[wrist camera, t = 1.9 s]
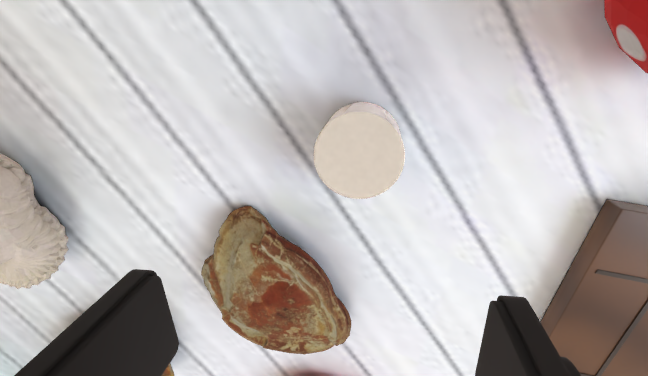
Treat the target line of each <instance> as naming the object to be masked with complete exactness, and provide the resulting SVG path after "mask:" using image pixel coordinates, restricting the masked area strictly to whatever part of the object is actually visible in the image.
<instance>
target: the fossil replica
mask: <svg viewBox="0 0 648 376" xmlns="http://www.w3.org/2000/svg"><path fill="white" fill-rule="evenodd" d="M33 190H34V186H33V183H32V179H31V176H30V175H28V174H25V171H24V169H23V168H22V167H21V166H20V165H19V164H18V163H17V162H15V161H14V160H12V159H10V158H8V157H6V156H5V155H3V154H0V283H2V284H8V285H9V286H10V287H12V286H15V287H16V288H17V289H19V288H21V287H24V288H31V286H32V285H38V284H39V283H41V282H42V281H43V280H46V279H50V278H51V274H53V273H55V272H56V271H58V266H59V265H60V264H61V263H62V262H63V261H64V260H65V259H64V255H65V254H66V252H67V251H68V248H67V246H66V244H67V242H68V237H67V236H66V235H65V227H64V226H63V225H61V224H60V223H59V220H58V219H57V218H56V217H55V216H54V215H53V214H51V213H50V212H49V210H48V209H47V208H46V207H42V206H40V205H39V204H38V202H37V200H36V198H35V197H34V191H33Z"/></svg>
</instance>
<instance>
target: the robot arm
mask: <svg viewBox="0 0 648 376" xmlns="http://www.w3.org/2000/svg"><path fill="white" fill-rule="evenodd" d="M178 345H179V342H178V337H177V334H176V330H175V327H174V323H173V320H172V316H171V313H170V309H169V306H168V302H167V299H166V295H165V292H164V288H163V285H162V281H161V278H160V277H159V276H157V274H156V273H155V272H154V271H151V270H137V269H135V270H132V271H130V272H129V273H128V274H127V275H125V276H124V277H123V278H122V279H121V280H120V281H119V282H118V283H117V284H115V285H114V286H113V287H112V288H111V289H110V290H109V291H108V292H107V293H105V294H104V295H103V296H102V297H101V298H100V299H99V300H98V301H97V302H95V303H94V304H93V305H92V306H91V307H90V308H89V309H88V310H87V311H85V312H84V313H83V314H82V315H81V316H80V317H79V318H78V319H77V320H76V321H74V322H73V323H72V324H71V325H70V326H69V327H68V328H67V329H66V330H64V331H63V332H62V333H61V334H60V335H59V336H58V337H57V338H56V339H54V340H53V341H52V342H51V343H50V344H49V345H48V346H47V347H46V348H44V349H43V350H42V351H41V352H40V353H39V354H38V355H37V356H36V357H34V358H33V359H32V360H31V361H30V362H29V363H28V364H27V365H26V366H24V367H23V368H22V369H21V370H20V371H19V372H18V373H17V374H16V375H14V376H161V375H162V374H163V372H164V371H165V369H166V368H167V366H168V365H169V363H170V362H171V360H172V359H173V357H174V356H175V354H176V352H177V350H178ZM475 376H581V375H580V373H579V372H578V370H577V368H576V367H575V366H574V364H573V363H572V362H571V361H570V360H569V359H568V358H566V357H560V355H559V353H558V352H557V350H556V348H555V347H554V345H553V343H552V341H551V340H550V338H549V336H548V335H547V333H546V331H545V329H544V328H543V326H542V324H541V323H540V321H539V319H538V317H537V316H536V314H535V312H534V311H533V309H532V307H531V306H530V304H529V302H528V301H527V299H526V298H524V297H513V296H499V297H498V298H497V301H491V302H490V305H489V309H488V314H487V319H486V324H485V329H484V334H483V339H482V343H481V348H480V353H479V358H478V363H477V368H476V373H475Z"/></svg>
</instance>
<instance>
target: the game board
mask: <svg viewBox="0 0 648 376" xmlns="http://www.w3.org/2000/svg"><path fill="white" fill-rule="evenodd" d="M540 323H541V324H542V326H543V328H544V329H545V331H546V333H547V335H548V336H549V338H550V340H551V341H552V343H553V345H554V347H555V348H556V350H557V352H558V353H559V355H560V357H566V358H568V359H569V360H570V361H571V362H572V363H573V364H574V366H575V367H576V368H577V370H578V372H579V373H580V375H581V376H648V206H644V205H638V204H633V203H627V202H621V201H615V200H610V199H607V200H606V202H605V203H604V205H603V207H602V209H601V211H600V213H599V215H598V216H597V218H596V220H595V222H594V224H593V226H592V228H591V229H590V231H589V233H588V235H587V237H586V239H585V241H584V242H583V244H582V246H581V248H580V250H579V252H578V254H577V255H576V257H575V259H574V261H573V263H572V265H571V267H570V268H569V270H568V272H567V274H566V276H565V278H564V280H563V281H562V283H561V285H560V287H559V289H558V291H557V293H556V294H555V296H554V298H553V300H552V302H551V304H550V306H549V307H548V309H547V311H546V313H545V315H544V317H543V319H542V320H541V322H540Z"/></svg>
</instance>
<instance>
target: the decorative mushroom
mask: <svg viewBox="0 0 648 376" xmlns="http://www.w3.org/2000/svg"><path fill="white" fill-rule="evenodd" d="M604 11H605V18H606V20H607V23H608V25H609V27H610V29H611V31H612V33H613V36H614V38H615V40H616V42H617V44H618V46H619V48H620V49H621V50H622V51H623V52H625V53H626V54H627V55H628V56H629V57H630V58H631V59H632V60H633V61H634V62H635V63H636V64H637V65H638V66H639V67H641V68H642V69H643V70H644V71H645V72H646V73H648V0H604Z"/></svg>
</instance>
